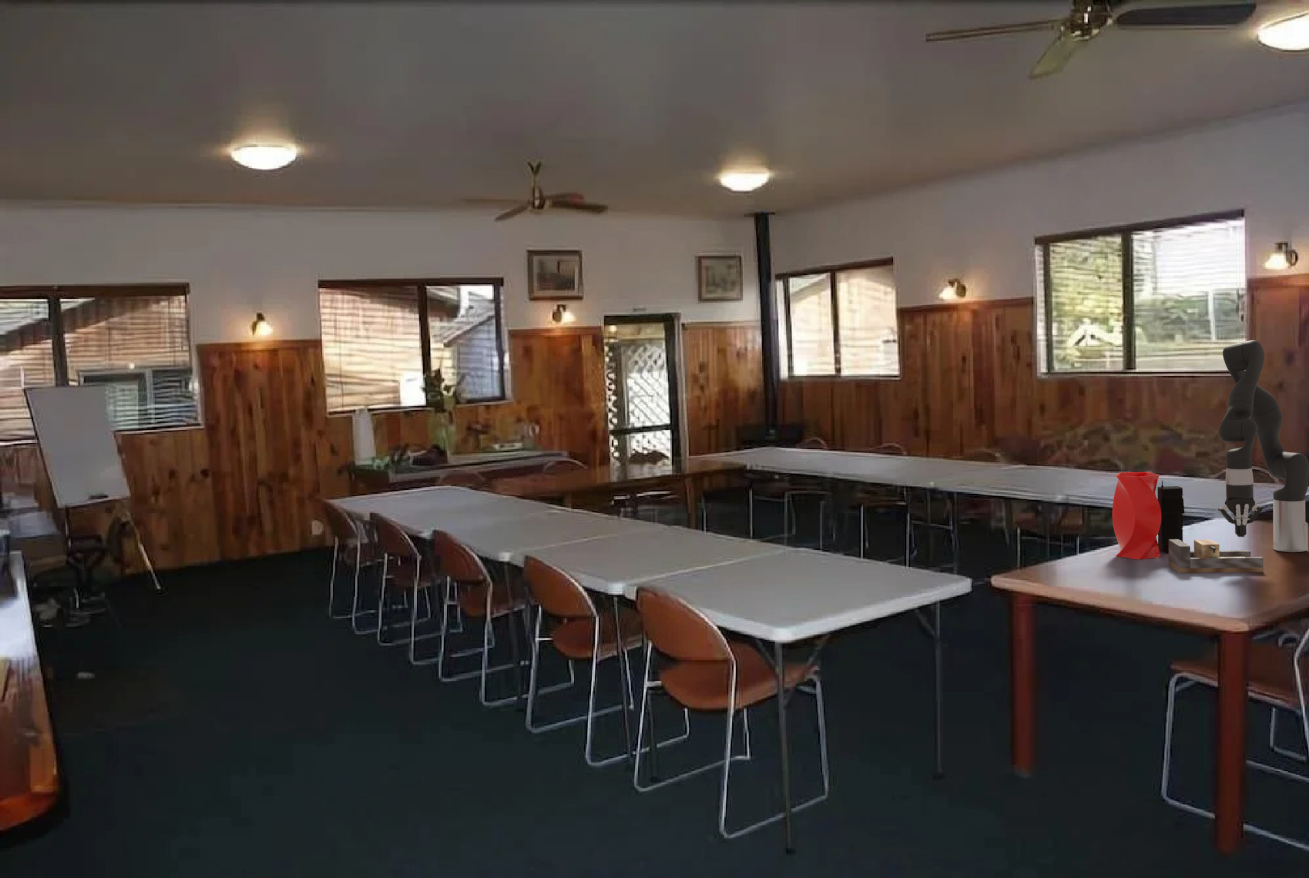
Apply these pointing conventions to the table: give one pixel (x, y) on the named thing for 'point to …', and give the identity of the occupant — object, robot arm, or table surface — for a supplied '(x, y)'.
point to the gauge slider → (1205, 548)
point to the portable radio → (1170, 515)
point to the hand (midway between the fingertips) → (1240, 536)
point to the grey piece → (1211, 560)
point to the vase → (1136, 515)
